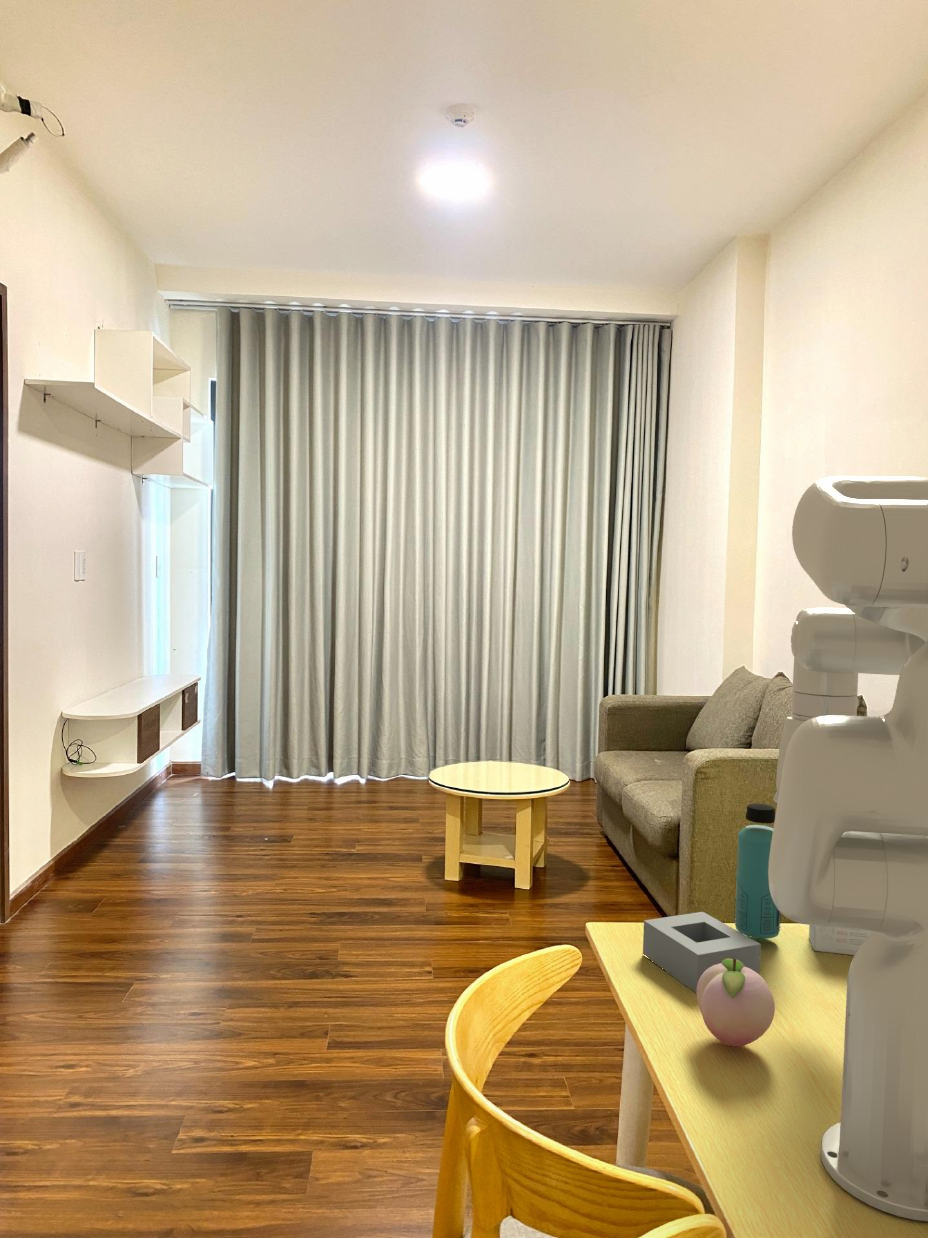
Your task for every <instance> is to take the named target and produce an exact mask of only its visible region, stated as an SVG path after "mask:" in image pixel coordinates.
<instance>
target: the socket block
mask: <svg viewBox="0 0 928 1238" xmlns="http://www.w3.org/2000/svg"><path fill="white" fill-rule="evenodd" d="M643 954H644V955H646V956H647V957H648V958H649V959H650V960H651V961H653V962H654V963H655V964H657V965H658V966H660V967H661V968H663V969H664V970H665V971H666V972H665V971H664V970H663V971H664V972H665V973H667V972H668V973H670V974H669V975H670V976H671V975H672V976H673V977H672V976H671V977H672V978H674V979H675V980H677V981H678V982H680V983H681V984H683V985H684V986H685V987H687V988H688V989H690V990H691V991H692V992H694V993H696V994H697V984H698V981H699V979H700V977H701V976H702V974H703V973H704V972H705V971H706V970H707V969H708V968H710V967H712V966H714V965H716V964H720V963H722V961H723V960H724V959H727V958H728V959H734V958H735V959H736V960H739V961H741V962H742V963H743V964H744V967H747V968H749V969H752V970H753V971H755V972H756V973H758V974H759V975H760V971H761V970H760V969H761V943H760V942H758V941H756V940H754V939H752V937H751V938H750V936H747V935H744V934H742V933H740V932H739V931H738V930H737V929H736V928H735V929H734V928H733V927H731V926H729V925H728V924H726V923H723V922H722V921H720V920H719V919H716V918H715V917H713V916H712V915H709V914H708V913H706V912H704V911H699V912H691V913H686V914H685V913H684V914H677V915H672V916H671V915H670V916H666V917H665V916H664V917H657V918H653V919H652V918H651V919H645V920H643V942H642V955H643ZM650 960H649V961H650ZM651 961H650V962H651ZM654 963H653V964H654ZM655 964H654V965H655ZM657 965H656V966H657ZM658 966H657V967H658ZM660 967H659V968H660ZM661 968H660V969H661ZM668 973H667V974H668Z"/></svg>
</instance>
